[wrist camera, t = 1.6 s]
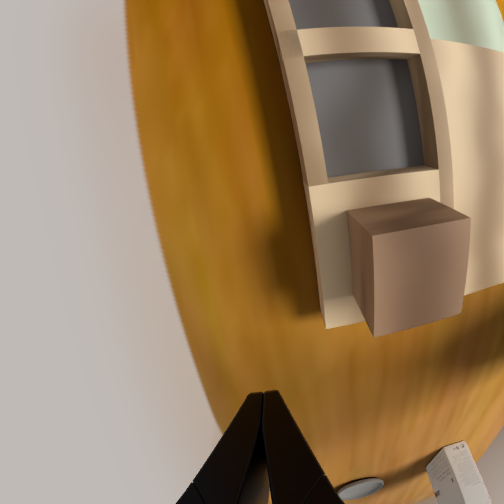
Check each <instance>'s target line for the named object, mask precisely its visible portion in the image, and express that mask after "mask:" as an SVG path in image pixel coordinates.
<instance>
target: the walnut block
mask: <svg viewBox="0 0 504 504" xmlns="http://www.w3.org/2000/svg"><path fill="white" fill-rule="evenodd" d="M346 212H347V222H348V232H349V243H350V255H351V269H352V285H353V296H354V298H355V300H356V302H357V304H358V306H359V308H360V310H361V312H362V314H363V316H364V318H365V321H366V323H367V325H368V327H369V329H370V331H371V333H372V335H373V337H378V336H382V335H387V334H391V333H395V332H398V331H402V330H406V329H410V328H414V327H417V326H421V325H424V324H428V323H431V322H435V321H438V320H441V319H445V318H448V317H451V316H454V315H457V314H460V313H461V310H462V304H463V298H464V292H465V284H466V277H467V268H468V258H469V246H470V229H471V218H470V217H468V216H466V215H464V214H462V213H460V212H458V211H456V210H454V209H452V208H450V207H448V206H446V205H444V204H442V203H440V202H438V201H436V200H434V199H431V198H424V199H417V200H410V201H403V202H397V203H390V204H384V205H377V206H371V207H364V208H358V209H352V210H346Z"/></svg>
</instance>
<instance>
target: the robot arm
mask: <svg viewBox="0 0 504 504" xmlns="http://www.w3.org/2000/svg"><path fill="white" fill-rule="evenodd" d="M269 488H270V492H271V499H272V504H345V503H344V502H343V501H342V499H341V498H340V497H339V495H338V494H337V492H336V491H335V489H334V488H333V486H332V484H331V483H330V481H329V479H328V478H327V476H326V475H325V473H324V471H323V469H322V468H321V466H320V464H319V463H318V461H317V459H316V457H315V456H314V454H313V452H312V450H311V449H310V447H309V445H308V443H307V442H306V440H305V438H304V436H303V435H302V433H301V431H300V429H299V427H298V426H297V424H296V422H295V420H294V418H293V417H292V415H291V413H290V411H289V409H288V407H287V406H286V404H285V402H284V400H283V398H282V396H281V395H280V393H279V391H278V390H272V391H265V392H264V393H263V392H254V393H250V394H248V396H247V397H246V399H245V401H244V402H243V404H242V406H241V407H240V409H239V411H238V412H237V414H236V415H235V417H234V419H233V420H232V422H231V423H230V425H229V427H228V428H227V430H226V431H225V433H224V434H223V436H222V438H221V439H220V441H219V442H218V444H217V445H216V447H215V448H214V450H213V451H212V453H211V454H210V456H209V458H208V459H207V461H206V462H205V463H204V465H203V467H202V468H201V469H200V471H199V472H198V474H197V475H196V477H195V478H194V480H193V483H191V484H190V485H189V487H188V488H187V489H186V491H185V492H184V494H183V495H182V496H181V498H180V499H179V500H178V501H177V503H176V504H268V498H269Z"/></svg>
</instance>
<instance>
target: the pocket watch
mask: <svg viewBox="0 0 504 504" xmlns="http://www.w3.org/2000/svg"><path fill="white" fill-rule="evenodd" d="M383 486H384V482H383V480H381V479H379V478H369V479H364V480H359V481H356V482H353V483H350V484H348V485H346V486H344V487H342V488H341V489H340V490H339V491H338V492H337V494H338V495H339V497H340V498H341V499H342V500H352V499H358V498H362V497H365V496H368V495H371V494H373V493H375V492H377V491H379V490H380V489H381V488H382V487H383Z"/></svg>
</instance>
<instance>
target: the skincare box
mask: <svg viewBox="0 0 504 504" xmlns="http://www.w3.org/2000/svg"><path fill="white" fill-rule="evenodd" d="M426 470H427V473H428V476H429V478H430V481H431V484H432V487H433V490H434V493H435V496H436V499H437V502H438V504H492V502H491V500H490V497H489V495H488V492H487V490H486V487H485V485H484V482H483V480H482V478H481V475H480V473H479V471H478V468H477V466H476V464H475V461H474V459H473V457H472V455H471V453H470V451H469V448H468V446H467V444H466V442H465V441H461V442H457V443H454V444H451V445H448V446H445V447H443V448H442V449H441V451H440V452H439V453H438V454H437V455H436V456H435V457H434V458H433V460H432V461H431V462H430V463H429V464H428V465H427V467H426Z"/></svg>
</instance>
